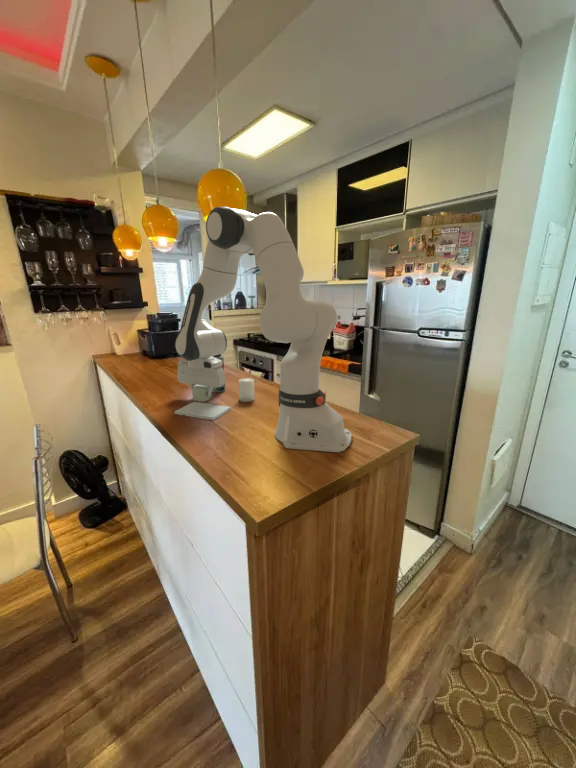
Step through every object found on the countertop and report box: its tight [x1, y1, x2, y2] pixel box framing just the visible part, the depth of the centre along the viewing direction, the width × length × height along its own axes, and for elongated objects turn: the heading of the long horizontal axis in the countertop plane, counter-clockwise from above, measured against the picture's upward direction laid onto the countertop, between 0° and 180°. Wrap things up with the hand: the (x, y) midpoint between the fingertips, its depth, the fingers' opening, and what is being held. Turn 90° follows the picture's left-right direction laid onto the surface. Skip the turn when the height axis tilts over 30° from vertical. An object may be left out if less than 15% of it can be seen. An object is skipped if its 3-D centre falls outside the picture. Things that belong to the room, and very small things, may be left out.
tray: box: [174, 401, 232, 421], centre depth 110 cm, size 16×11×1 cm
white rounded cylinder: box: [238, 377, 255, 403], centre depth 122 cm, size 6×6×8 cm
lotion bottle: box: [211, 354, 226, 393], centre depth 132 cm, size 6×6×20 cm
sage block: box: [191, 385, 212, 402], centre depth 123 cm, size 5×5×5 cm
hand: (201, 395), depth 123 cm, fingers closed on sage block, 5 cm apart
